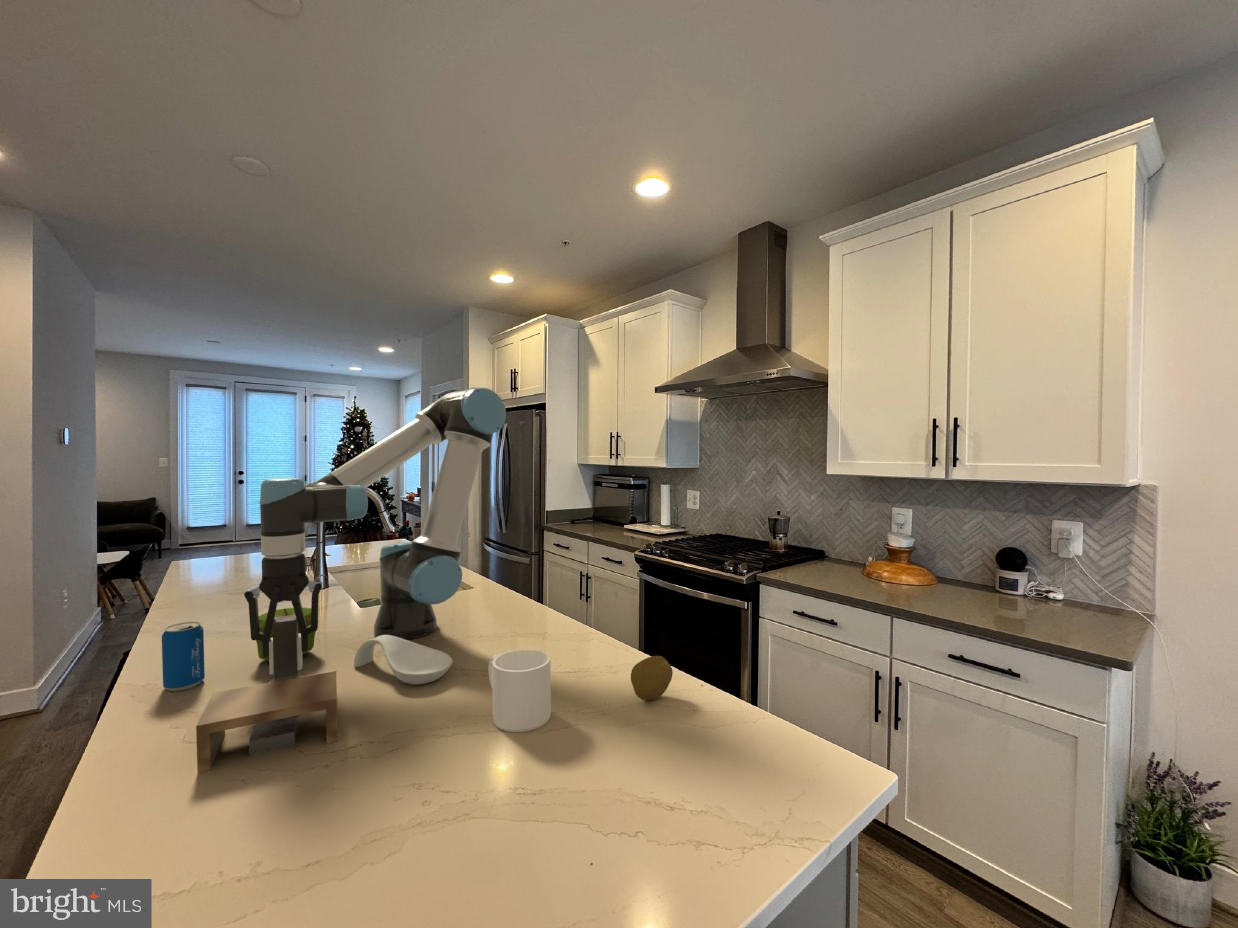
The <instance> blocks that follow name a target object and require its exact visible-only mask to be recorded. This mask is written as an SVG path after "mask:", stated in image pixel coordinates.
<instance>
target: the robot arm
mask: <svg viewBox="0 0 1238 928" xmlns="http://www.w3.org/2000/svg"><path fill="white" fill-rule="evenodd" d="M506 418H507V410H506V406H505V403H504V402H503V400H502V397H501V396H500V395H499V394H498V393H496V392H495V391H494V390H493V389H490V388H486V387H470V388H469V389H468V388H467V389H462V390H457V391H451V392H449V393H447V394H444V395H443V396H441V397H440V398H439V399H437V400H436V401H434V402H433V403H432V404H431V403H430V404H429V405H428V406H426V407H425V408H423V409H422V410H421V411H419V412H417V413H416V414H415V416H414V419H413V420H412V421H410V422H409V423H407V424H406V425H404V426H403V427H401V428H400V429H398V430H396V431H395V432H393V433H391V434H390V435H388V436H386V437H384V438H383V439H382V440H381V441H379V442H377V443H375V444H374V445H373V446H371V447H369V448H368V449H365V451H364V450H363V452H361V453H360V454H358V455H357V456H355V457H353V458H352V459H350V460H348V461H347V462H346V463H344V464H343V465H340V466H339V467H338V468H336V469H334V470H333V471H330V473H328V474H326V475H325V476H323V477H321V478H320V479H318V480H317V481H312V482H309V483H307V484H305V481H304V479H302V478H299V477H296V478H295V477H290V478H288V477H287V478H282V477H281V478H280V477H279V478H267V479H265V480H263V481H262V482H261V484H260V496H259V501H258V503H259V510H260V511H259V512H260V514H259V515H260V531H261V532H260V545H261V548H260V549H261V550H260V551H261V556H264V557H263V558H262V559H261V581H260V583H259V585H257V586H255V587H253V588H247V589H246V590H245V592H244V594H243V595H244V597H245V600H246V601H247V603H248V615H249V629H250V639H251V640H252V641H256V640H260V641H261V642H262V649H263V657H269V661H268V663H269V665H268V666H269V675H274V663H273V638H270V635H271V631H272V626H273V620H274V617H275V612H276V610H277V608H278V603H282V602H284V601H286V602H291V605H292V608H294V611H295V615H296V619H297V622H298V626H299V630H300V633H301V634H298V635H297V667H298V670H299V671H300V670H302V669H303V656H302V651H307V650H308V635H309V634H310V633H311V632H315V631H316V632H317V631H318V629H319V598H320V597H319V596H320V592H321V590H322V586H323V582H322V581H320V580H319V581H318V580H317V581H314V580H310V579H309V576H308V575H307V571H306V570H307V569H306V568H307V567H306V564H307V563H306V562H307V561H306V555H305V554H304V552H305V551H306V529H305V528H306V524H315V523H325V522H337V521H340V522H341V521H352V520H357V519H362V518H364V517H365V516H366V515H367V511H368V509H369V508H368V507H369V498H368V493H367V491H366V489H367V488H369V486H372V484H374V483H376V482H377V481H379V480H380V479H382V478H384V476H386V475H388V474H389V473H391V472H392V471H394V470H395V469H396V468H398V467H399V466H401V465H402V464H404V463H405V462H407V461H408V460H410V459H412V458H413V457H414V456H416V455H417V454H419V453H421V452H422V451H424V450H425V449H426V448H428V447H430V446H431V445H432V444H434V445H440V444H441V443H442V442H444V441H446V440H447V444H446V449H445V450H444V451H445V452H444V456H443V460H442V463H441V465H440V469H439V472H438V477H437V479H436V481H435V482H436V483H435V486H434V490H433V492H432V493H433V494H432V496H431V500H430V503H429V506H428V510H427V514H426V518H425V520H424V524H423V527H422V531H421V534H420V535H419V536H418V537H416V538H414V539H413V540H412V541H407V542H406V541H405V542H397V543H391V544H386V545H383V546H382V547H381V549H380V556H379V562H380V564H379V565H380V567H379V568H380V572H379V573H380V606H379V610H378V613H377V616H376V619H375V622H374V624H373V625H374V626H373V634H374V638H376V637H378V636H381V635H391V636H395V637H398V638H402V639H405V640H411V639H416V638H420V637H423V636H427V635H428V634H431V633H433V632H434V631H435V630H436V629H437V625H438V624H437V623H438V622H437V616H436V613H435V611H434V607H433V605H438V604H442V603H445V602H446V601H448V600H450V598H452V597H453V596H454V595H455V594H456V593H457V591H458V590H459V589H460V587H461V583H462V580H463V570H462V568H461V565H460V563H459V561H460V557H461V554H462V553H461V552H462V550H461V548H460V546H459V545H458V540H459V537H460V536H459V535H460V533H461V529H462V524H463V521H464V519H465V514H466V511H467V506H468V504H469V499H470V497H471V492H472V489H473V485H474V481H475V477H476V474H477V472H478V471H477V470H478V467H479V463H480V461H481V460H480V459H481V457H482V453H483V451H484V450H485V449H488V448H489V447H491V445H492V441H493V440H492V439H493V437H494V434H495V433H497V432H498V431H499V430H501V429H502V428H503V426H504V425H505V423H506ZM307 587H308V591H309V592H310V593H311V604H310V605H311V625H309V626H307V623H306V619H305V616H304V612H303V608H304V607H303V605H302V602H301V597H300V595H301V594H302V593H303V591H304V590H305V588H307ZM260 592H262V593H263V594H264V595H265V596H266V597H267V598H268V599H269V605H268V611H267V612H268V614H267V618H266V623H265V628H264V632H260V628H259V616H260V615H259V604H258V603H259V602H258V599H259V597H260ZM316 632H315V633H316Z"/></svg>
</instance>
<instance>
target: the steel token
mask: <svg viewBox="0 0 1238 928" xmlns="http://www.w3.org/2000/svg"><path fill="white" fill-rule="evenodd" d="M297 731H298V715H297V716H292V717H287V718H282V719H277V720H272V721H268V722H263V723H258V724H253V727H252V730H251V732H250V733H251V734H250V737H249V740H248V755H249V756H252V755H256V754H257V755H258V754H261V753H266V752H270V751H275V750H279V749H283V748H287V747H292V746H295V744H296V739H297Z"/></svg>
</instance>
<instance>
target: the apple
mask: <svg viewBox="0 0 1238 928" xmlns="http://www.w3.org/2000/svg"><path fill="white" fill-rule="evenodd" d="M302 608H303V612H304V616H305V619H306V623H307V626H309V625H311V608H309V607H302ZM267 614H268V611H267V612H265V613H263V614H260V615H259V628H260V632H264V628H265V623H266V618H267ZM290 615H295V611H294V608H293V607H287V608H278V609H277V608H276V612H275V617H282V616H290ZM275 617H274V618H275ZM316 633H317V631H315V632H311V633H310V634H309V635H308V650H307V651H302V657H303V656H304V655H306V654H307V653H309V652H310V651H312V649H313V648H314V647H315V636H316ZM298 634H301V633H300V630H299V626H298ZM270 638H273V626H272V631H271V635H270ZM255 642H256V645H257V647H256V648H257V655H258V658H259V659H261V660H265V661H267V662H269V657H263V649H262V642H261V641H260V640H255Z"/></svg>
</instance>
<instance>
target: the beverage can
mask: <svg viewBox="0 0 1238 928" xmlns="http://www.w3.org/2000/svg"><path fill="white" fill-rule="evenodd" d="M204 634H205V633H204V627H203V626H202V625H201V622H200V621H185V622H180V623H173V624H171V625H169V626H166V627H165V628H164V632H163V633H162V635H161V655H162V656H161V659H162V660H161V664H162V687H163V688H164V689H167V690H169V691H172V692H178V691H184V690H188V689H192V688H193V687H197V685H199V684H200V683H201V682H202V681H203V680H204V679H205V673H206V672H205V645H204V644H205V643H204V642H205V637H204V636H205V635H204Z"/></svg>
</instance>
